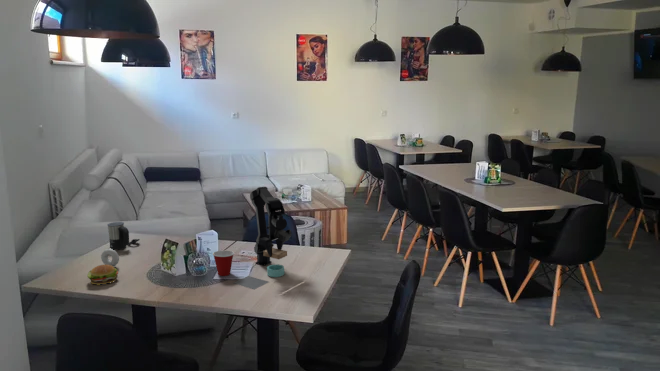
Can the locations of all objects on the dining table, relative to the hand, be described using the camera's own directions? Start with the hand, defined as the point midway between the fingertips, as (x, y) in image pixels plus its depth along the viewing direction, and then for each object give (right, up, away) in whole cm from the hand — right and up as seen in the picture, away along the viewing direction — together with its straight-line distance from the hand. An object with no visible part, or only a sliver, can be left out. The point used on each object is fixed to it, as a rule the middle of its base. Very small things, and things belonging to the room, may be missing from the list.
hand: (275, 254), depth 248 cm
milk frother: (-96, -2, +49) cm, 107 cm away
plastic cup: (-26, -11, +3) cm, 28 cm away
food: (-84, -13, -5) cm, 85 cm away
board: (0, -1, 0) cm, 1 cm away
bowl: (0, -11, +2) cm, 11 cm away
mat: (-11, -13, -8) cm, 19 cm away
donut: (-89, -9, +15) cm, 91 cm away
